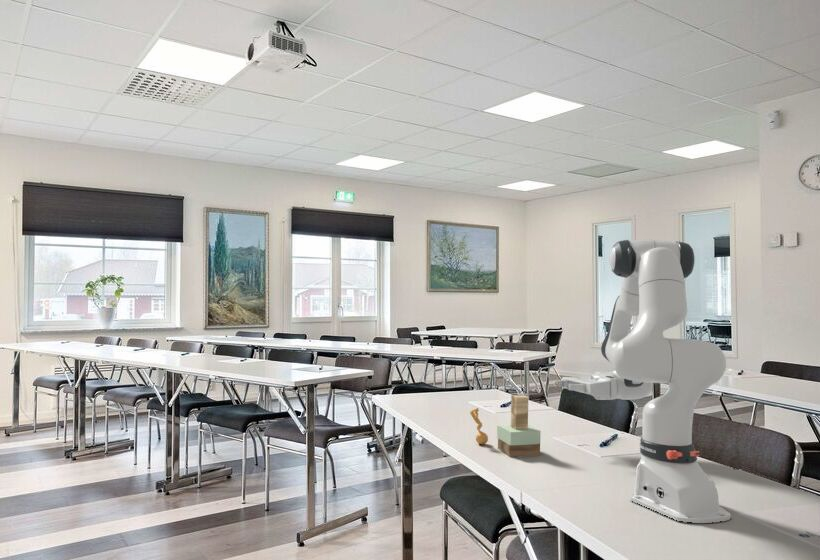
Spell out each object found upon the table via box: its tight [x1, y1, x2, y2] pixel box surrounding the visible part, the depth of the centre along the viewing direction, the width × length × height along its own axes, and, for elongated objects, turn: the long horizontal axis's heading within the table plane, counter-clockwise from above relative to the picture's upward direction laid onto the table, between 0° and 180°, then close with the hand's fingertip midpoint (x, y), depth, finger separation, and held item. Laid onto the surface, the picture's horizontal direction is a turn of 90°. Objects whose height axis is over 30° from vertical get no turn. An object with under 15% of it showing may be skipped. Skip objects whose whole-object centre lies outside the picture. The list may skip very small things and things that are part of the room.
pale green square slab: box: [496, 424, 541, 445], centre depth 187 cm, size 10×10×4 cm
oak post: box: [510, 394, 529, 430], centre depth 186 cm, size 4×4×10 cm
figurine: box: [469, 407, 489, 446], centre depth 195 cm, size 8×6×12 cm
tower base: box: [497, 438, 541, 458], centre depth 187 cm, size 10×10×4 cm
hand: (561, 385), depth 187 cm, fingers open, 8 cm apart
